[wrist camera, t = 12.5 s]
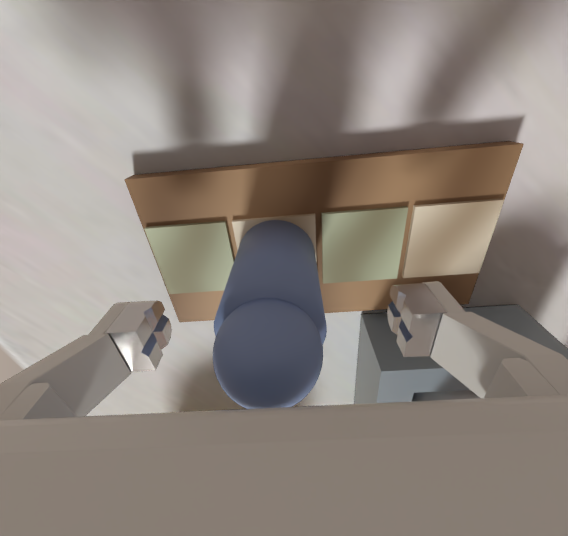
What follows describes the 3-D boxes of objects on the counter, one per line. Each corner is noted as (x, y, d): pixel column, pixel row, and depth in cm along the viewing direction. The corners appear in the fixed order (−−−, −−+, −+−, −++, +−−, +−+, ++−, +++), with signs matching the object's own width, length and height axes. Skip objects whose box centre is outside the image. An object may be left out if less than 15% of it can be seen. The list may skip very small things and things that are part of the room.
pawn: (315, 219, 12) (344, 352, 6) (313, 285, 14) (332, 440, 8) (234, 220, 12) (174, 353, 6) (243, 286, 14) (205, 440, 8)
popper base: (518, 304, 16) (581, 361, 12) (474, 397, 21) (512, 456, 17) (361, 314, 16) (381, 371, 13) (354, 403, 21) (367, 461, 18)
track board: (509, 140, 11) (527, 144, 10) (460, 295, 16) (470, 306, 15) (133, 175, 12) (122, 180, 11) (183, 312, 16) (178, 324, 15)
